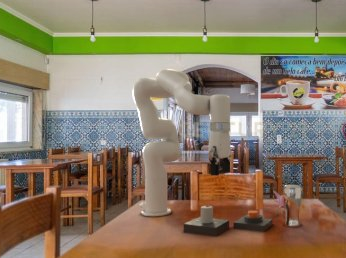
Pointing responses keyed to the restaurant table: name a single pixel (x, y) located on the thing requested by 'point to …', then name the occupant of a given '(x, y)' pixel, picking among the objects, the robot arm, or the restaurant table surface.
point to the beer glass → (292, 204)
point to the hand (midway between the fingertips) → (220, 173)
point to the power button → (253, 214)
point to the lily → (279, 201)
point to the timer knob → (206, 214)
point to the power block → (253, 223)
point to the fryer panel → (206, 227)
